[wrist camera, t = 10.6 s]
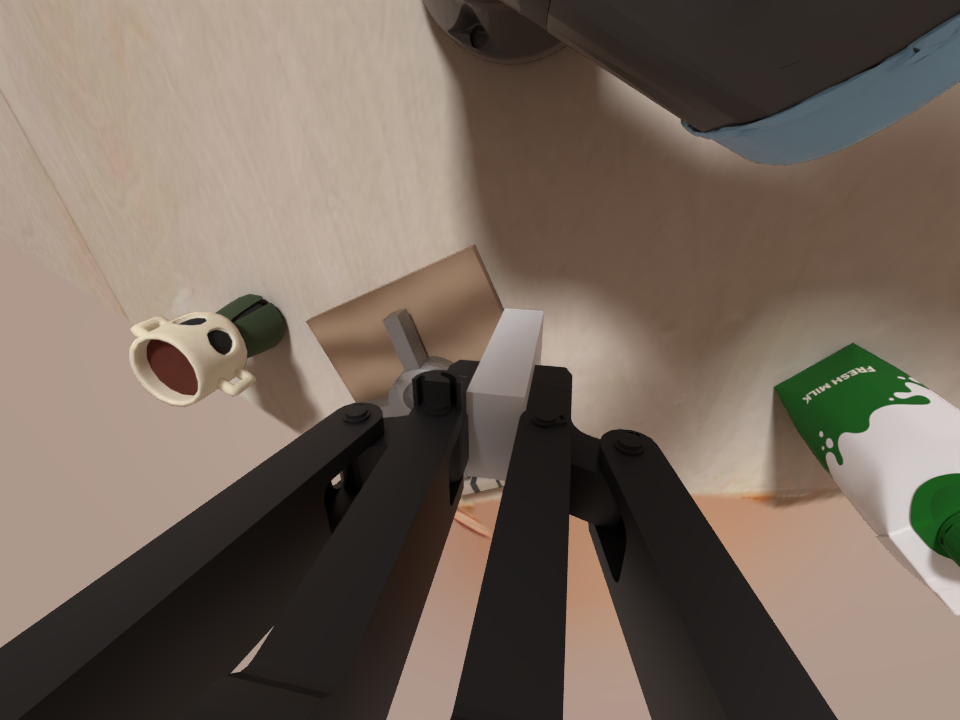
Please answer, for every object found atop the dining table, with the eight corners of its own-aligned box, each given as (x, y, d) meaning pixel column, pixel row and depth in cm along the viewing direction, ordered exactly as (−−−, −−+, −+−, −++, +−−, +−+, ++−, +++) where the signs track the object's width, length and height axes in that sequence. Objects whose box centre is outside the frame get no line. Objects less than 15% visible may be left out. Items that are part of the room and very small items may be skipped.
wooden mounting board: (312, 317, 47) (289, 332, 44) (474, 244, 40) (464, 254, 37) (414, 485, 55) (402, 510, 51) (566, 448, 48) (565, 474, 44)
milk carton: (858, 328, 37) (1112, 492, 19) (913, 400, 39) (1194, 613, 21) (757, 385, 41) (893, 565, 23) (812, 449, 42) (977, 663, 25)
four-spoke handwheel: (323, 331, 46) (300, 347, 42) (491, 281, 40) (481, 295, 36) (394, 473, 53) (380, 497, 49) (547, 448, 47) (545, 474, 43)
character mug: (315, 323, 48) (231, 378, 36) (293, 369, 51) (210, 433, 40) (227, 265, 47) (113, 304, 35) (211, 316, 50) (102, 366, 39)
